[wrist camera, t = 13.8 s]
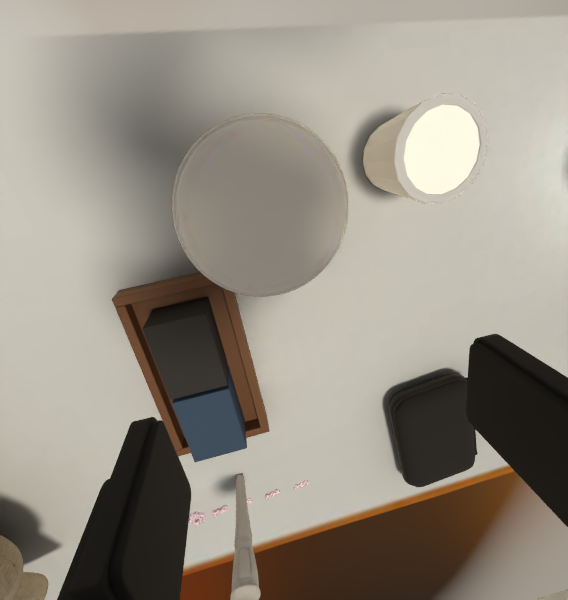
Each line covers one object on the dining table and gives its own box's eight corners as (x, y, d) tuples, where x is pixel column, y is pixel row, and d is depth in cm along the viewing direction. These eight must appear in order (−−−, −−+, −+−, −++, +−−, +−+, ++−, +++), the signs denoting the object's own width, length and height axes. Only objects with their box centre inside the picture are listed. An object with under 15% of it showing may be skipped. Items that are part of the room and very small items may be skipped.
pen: (228, 486, 39) (230, 641, 26) (228, 468, 38) (230, 621, 25) (250, 483, 39) (262, 635, 26) (250, 466, 38) (263, 615, 25)
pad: (152, 309, 29) (141, 328, 25) (208, 296, 30) (205, 313, 26) (176, 374, 32) (170, 400, 28) (227, 361, 32) (227, 385, 28)
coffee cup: (302, 135, 27) (356, 108, 16) (304, 249, 30) (351, 292, 19) (184, 140, 25) (152, 112, 14) (200, 258, 29) (185, 309, 18)
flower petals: (191, 524, 40) (191, 529, 39) (186, 513, 39) (186, 518, 39) (309, 486, 41) (311, 491, 41) (306, 476, 40) (308, 480, 40)
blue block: (177, 377, 32) (171, 403, 28) (228, 364, 32) (228, 388, 29) (198, 431, 34) (194, 462, 31) (244, 419, 35) (247, 448, 31)
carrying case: (474, 449, 44) (466, 359, 38) (491, 468, 41) (486, 374, 35) (399, 477, 43) (380, 390, 37) (411, 498, 40) (393, 407, 35)
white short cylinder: (346, 188, 29) (381, 193, 22) (369, 101, 27) (415, 78, 20) (414, 205, 30) (466, 213, 24) (441, 124, 28) (506, 108, 22)
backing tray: (118, 290, 29) (111, 299, 27) (227, 265, 29) (227, 272, 28) (179, 441, 35) (177, 456, 33) (267, 417, 36) (269, 431, 34)
